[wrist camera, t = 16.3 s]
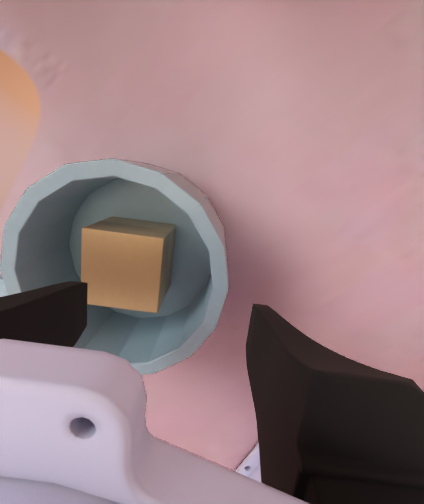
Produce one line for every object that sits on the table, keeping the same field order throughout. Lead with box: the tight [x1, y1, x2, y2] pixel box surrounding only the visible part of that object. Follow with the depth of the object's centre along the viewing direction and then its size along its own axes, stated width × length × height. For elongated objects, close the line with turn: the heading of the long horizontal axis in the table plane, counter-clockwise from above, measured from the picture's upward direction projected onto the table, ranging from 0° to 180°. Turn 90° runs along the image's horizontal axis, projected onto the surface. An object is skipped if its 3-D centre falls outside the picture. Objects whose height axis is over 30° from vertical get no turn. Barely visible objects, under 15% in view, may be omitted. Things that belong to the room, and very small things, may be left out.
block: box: [81, 216, 176, 313], centre depth 18 cm, size 4×4×4 cm
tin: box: [0, 158, 229, 375], centre depth 18 cm, size 12×12×6 cm
